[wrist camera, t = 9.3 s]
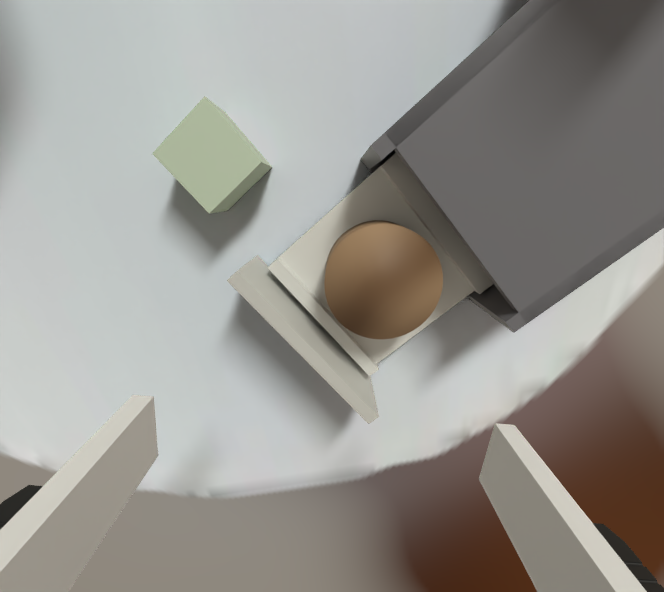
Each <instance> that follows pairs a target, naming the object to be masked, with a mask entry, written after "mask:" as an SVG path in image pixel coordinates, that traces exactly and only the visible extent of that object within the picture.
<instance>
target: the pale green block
mask: <svg viewBox="0 0 664 592" xmlns="http://www.w3.org/2000/svg"><path fill="white" fill-rule="evenodd" d="M152 154H153V155H154V156H155V157H156V158H157V159H158V160H159V161H160V162H161V163H162V164H163V166H164V167H165V168H166V169H167V170H168V171H169V172H170V173H171V174H172V175H173V176H174V177H175V178H176V179H177V180H178V181H179V182H180V183H181V185H182V186H183V187H184V188H185V189H186V190H187V191H188V192H189V193H190V194H191V195H192V196H193V197H194V198H195V199H196V200H197V201H198V203H199V204H200V205H201V206H202V207H203V208H204V209H205V210H206V211H207V212H208V213H209V214H210V213H217V212H225V211H228V210H229V209H230V208H231V207H232V206H233V205H234V204H235V203H236V202H237V201H238V200H239V199H240V198H241V197H242V196H243V195H244V194H245V193H246V192H247V191H248V190H249V189H250V188H251V187H252V186H253V185H254V184H256V183H257V182H258V181H259V180H260V179H261V178H262V177H263V176H264V175H265V174H266V173H267V172H268V171H269V170H270V169H271V168H272V166H271V165H270V164H269V163H268V162H267V161H266V159H265V158H264V157H263V156H262V155H261V154H260V152H259V151H258V150H257V149H256V148H255V147H254V145H253V144H252V143H251V142H250V141H249V140H248V138H247V137H246V136H245V135H244V134H243V133H242V131H241V130H240V129H239V128H238V127H237V126H236V124H235V123H234V122H233V121H232V120H231V119H230V117H229V116H228V115H227V114H226V113H225V112H224V111H223V110H222V109H220V108H219V107H218V106H217V105H215V104H214V103H213V102H211V101H210V100H209V99H208V98H206V97H204V98H203V99H202V100H201V101H200V102H199V103H198V104H197V105H196V106H195V108H194V109H193V110H192V111H191V112H190V113H189V114H188V115H187V116H186V117H185V118H184V119H183V121H182V122H181V123H180V124H179V125H178V126H177V127H176V128H175V129H174V130H173V131H172V133H171V134H170V135H169V136H168V137H167V138H166V139H165V140H164V141H163V142H162V143H161V145H160V146H159V147H158V148H157V149H156V150H155V151H154V152H153V153H152Z"/></svg>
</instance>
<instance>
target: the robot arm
mask: <svg viewBox="0 0 664 592" xmlns="http://www.w3.org/2000/svg"><path fill="white" fill-rule="evenodd" d="M157 457H158V448H157V435H156V421H155V408H154V397H153V396H140V395H132V396H131V397H130V398H129V399H128V400H127V401H126V402H125V404H124V405H123V406H122V407H121V408H120V409H119V410H118V411H117V412H116V413H115V414H114V415H113V416H112V417H111V418H110V419H109V420H108V421H107V422H106V423H105V424H104V425H103V426H102V427H101V428H100V429H99V430H98V431H97V432H96V433H95V434H94V435H93V436H92V437H91V438H90V439H89V440H88V441H87V442H86V443H85V444H84V445H83V446H82V447H81V448H80V449H79V450H78V451H77V452H76V453H75V454H74V455H73V456H72V457H71V458H70V459H69V460H68V461H67V463H66V464H65V465H64V466H63V467H62V468H61V469H60V470H59V471H58V472H57V473H56V474H55V475H54V476H53V477H52V478H51V479H50V480H49V481H48V482H47V483H46V484H45V485H44V486H34V485H28V486H27V487H25V488H24V489H22V490H20V491H19V492H17V493H16V494H14V495H13V496H11V497H9V498H8V499H6V500H5V501H3V502H2V503H1V504H0V592H69V590H70V589H71V587H72V585H73V584H74V582H75V581H76V579H77V578H78V576H79V575H80V573H81V572H82V570H83V569H84V567H85V566H86V564H87V563H88V561H89V560H90V558H91V557H92V555H93V554H94V552H95V551H96V549H97V548H98V546H99V545H100V543H101V541H102V540H103V538H104V537H105V535H106V534H107V532H108V531H109V529H110V528H111V526H112V525H113V523H114V522H115V520H116V519H117V517H118V516H119V514H120V513H121V511H122V510H123V508H124V507H125V505H126V504H127V502H128V501H129V499H130V498H131V496H132V494H133V493H134V491H135V490H136V488H137V487H138V485H139V484H140V482H141V481H142V479H143V478H144V476H145V475H146V473H147V472H148V470H149V469H150V467H151V466H152V464H153V463H154V461H155V460H156V458H157ZM479 480H480V482H481V484H482V486H483V488H484V490H485V492H486V494H487V495H488V497H489V499H490V501H491V503H492V505H493V507H494V509H495V511H496V513H497V515H498V517H499V519H500V520H501V522H502V524H503V526H504V528H505V530H506V532H507V534H508V536H509V538H510V540H511V541H512V544H513V546H514V547H515V549H516V551H517V553H518V555H519V557H520V559H521V561H522V563H523V565H524V567H525V568H526V570H527V572H528V574H529V576H530V578H531V580H532V582H533V584H534V586H535V588H536V590H537V592H664V588H663V587H662V586H661V585H659V584H658V583H657V580H656V578H655V577H654V576H653V575H652V574H651V573H650V571H649V570H648V569H647V568H646V567H644V566H643V565H642V562H641V561H640V560H639V558H638V557H637V556H636V555H635V554H634V552H633V551H632V550H631V549H630V548H629V547H628V545H627V544H626V543H625V542H624V541H623V540H622V539H620V538H619V537H618V536H617V535H616V534H615V533H613V532H612V531H611V530H610V529H608V528H607V527H606V526H605V525H604V524H596V523H592V522H591V521H590V520H589V518H588V517H587V516H586V515H585V513H584V512H583V511H582V510H581V508H580V507H579V506H578V504H577V503H576V502H575V501H574V499H573V498H572V497H571V496H570V494H569V493H568V492H567V491H566V489H565V488H564V487H563V486H562V484H561V483H560V482H559V481H558V479H557V478H556V477H555V476H554V474H553V473H552V472H551V471H550V469H549V468H548V467H547V465H546V464H545V463H544V462H543V461H542V459H541V458H540V457H539V456H538V454H537V453H536V452H535V450H534V449H533V448H532V447H531V445H530V444H529V443H528V442H527V440H526V439H525V438H524V437H523V435H522V434H521V433H520V432H519V430H518V429H517V428H516V427H515V425H507V424H495V426H494V429H493V433H492V436H491V439H490V443H489V447H488V450H487V453H486V457H485V460H484V464H483V467H482V470H481V474H480V477H479Z"/></svg>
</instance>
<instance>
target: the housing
mask: <svg viewBox="0 0 664 592" xmlns="http://www.w3.org/2000/svg"><path fill="white" fill-rule="evenodd" d="M395 152H396V154H397V155H398V156H399V158H400V159H401V160H402V162H403V163H404V164H405V166H406V167H407V168H408V170H409V171H410V172H411V174H412V175H413V176H414V178H415V179H416V180H417V182H418V183H419V184H420V186H421V187H422V188H423V190H424V191H425V192H426V194H427V195H428V196H429V198H430V199H431V200H432V202H433V203H434V204H435V206H436V207H437V208H438V210H439V211H440V212H441V214H442V215H443V216H444V218H445V219H446V220H447V222H448V223H449V224H450V226H451V227H452V229H453V230H454V231H455V233H456V234H457V235H458V237H459V238H460V239H461V241H462V242H463V243H464V245H465V246H466V247H467V249H468V250H469V251H470V253H471V254H472V255H473V257H474V258H475V259H476V261H477V262H478V263H479V265H480V266H481V267H482V269H483V270H484V271H485V273H486V274H487V275H488V277H489V278H490V279H491V281H492V282H493V283H494V284H493V285H492V286H490V287H489V288H488V289H486V290H485V291H484V292H482V293H481V294H478V293H477V292H475V291H473V292H472V293H471V294H469V295H468V298H469V299H470V300H471V301H472V302H473V303H475V304H476V305H477V306H479V307H480V308H481V309H483V310H484V311H485V312H487V313H488V314H489V315H491V316H492V317H493V318H495V319H496V320H497V321H499V322H500V323H501V324H503V325H504V326H505V327H507V328H508V329H509V330H511V331H512V332H513V333H514V332H516V331H517V330H518V329H520V328H521V327H523V326H524V325H526V324H527V323H528V322H530V321H531V320H533V319H534V318H535V317H537V316H538V315H540V314H541V313H543V312H544V311H545V310H547V309H548V308H550V307H551V306H553V305H554V304H555V303H557V302H558V301H560V300H561V299H563V298H564V297H565V296H567V295H568V294H570V293H571V292H573V291H574V290H575V289H577V288H578V287H580V286H581V285H583V284H584V283H585V282H587V281H588V280H590V279H591V278H593V277H594V276H595V275H597V274H598V273H600V272H601V271H602V270H604V269H605V268H607V267H608V266H610V265H611V264H612V263H614V262H615V261H617V260H618V259H620V258H621V257H622V256H624V255H625V254H627V253H628V252H630V251H631V250H632V249H634V248H635V247H637V246H638V245H640V244H641V243H642V242H644V241H645V240H647V239H648V238H650V237H651V236H652V235H654V234H655V233H657V232H658V231H659V230H661V229H662V228H664V0H529V1H528V2H527V3H526V4H525V5H524V6H522V7H521V8H520V9H519V10H518V11H517V12H516V13H515V14H514V15H513V16H512V17H510V18H509V19H508V20H507V21H506V22H505V23H504V24H503V25H502V26H501V27H500V28H498V29H497V30H496V31H495V32H494V33H493V34H492V35H491V36H490V37H489V38H488V39H486V40H485V41H484V42H483V43H482V44H481V45H480V46H479V47H478V48H477V49H476V50H474V51H473V52H472V53H471V54H470V55H469V56H468V57H467V58H466V59H465V60H464V61H462V62H461V63H460V64H459V65H458V66H457V67H456V68H455V69H454V70H453V71H452V72H450V73H449V74H448V75H447V76H446V77H445V78H444V79H443V80H442V81H441V82H440V83H439V84H437V85H436V86H435V87H434V88H433V89H432V90H431V91H430V92H429V93H428V94H427V95H425V96H424V97H423V98H422V99H421V100H420V101H419V102H418V103H417V104H416V105H415V106H413V107H412V108H411V109H410V110H409V111H408V112H407V113H406V114H405V115H404V116H403V117H401V118H400V119H399V120H398V121H397V122H396V123H395V124H394V125H393V126H392V127H391V128H389V129H388V130H387V131H386V132H385V133H384V134H383V135H382V136H381V137H380V138H379V139H377V140H376V141H375V142H374V143H373V144H372V145H371V146H370V147H369V149H368V150H367V151H366V153H365V154H364V155H363V157H362V158H361V160H362V162H363V163H364V164H365V165H366V167H367V168H368V169H369V171H370V172H371V173H373V172H374V171H375V170H376V169H377V168H379V167H380V166H381V165H382V164H383V163H384V162H385V161H386V160H388V159H389V158H390V157H391V156H392V155H393V154H394V153H395Z"/></svg>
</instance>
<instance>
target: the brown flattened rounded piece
mask: <svg viewBox="0 0 664 592" xmlns="http://www.w3.org/2000/svg"><path fill="white" fill-rule="evenodd" d="M442 287H443V272H442V267H441V263H440V260H439V258H438V256H437V254H436V252H435V251H434V249H433V248H432V246H431V245H430V244H429V243H428V242H427V241H426V240H425V239H424V238H423V237H422V236H420V235H419V234H417V233H415V232H414V231H412V230H409V229H407V228H405V227H403V226H401V225H398V224H396V223H393V222H389V221H383V220H373V221H367V222H363V223H360V224H358V225H355V226H353V227H352V228H350V229H348V230H347V231H346V232H344V233H343V234H342V235H341V236H340V237H339V238H338V239H337V241H336V242H335V243H334V245H333V246H332V248H331V250H330V252H329V255H328V258H327V262H326V270H325V281H324V289H325V296H326V300H327V303H328V305H329V308H330V310H331V312H332V313H333V315H334V316H335V318H336V319H337V320H338V321H339V322H340V323H341V324H342V325H343V326H344V327H345V328H347V329H348V330H350V331H351V332H353V333H355V334H357V335H360V336H362V337H366V338H370V339H392V338H396V337H400V336H403V335H405V334H407V333H409V332H411V331H413V330H415V329H416V328H418V327H419V326H420V325H421V324H423V323H424V322H425V321H426V320H427V319H428V318H429V317H430V315H431V314H432V312H433V311H434V309H435V308H436V306H437V304H438V302H439V299H440V296H441V292H442Z"/></svg>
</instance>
